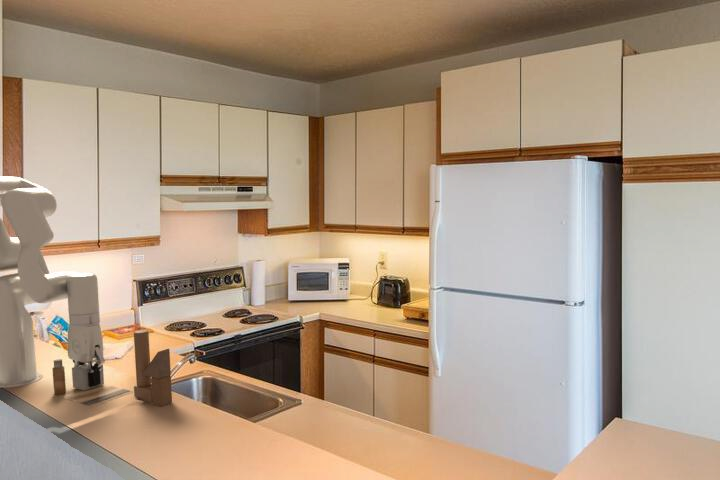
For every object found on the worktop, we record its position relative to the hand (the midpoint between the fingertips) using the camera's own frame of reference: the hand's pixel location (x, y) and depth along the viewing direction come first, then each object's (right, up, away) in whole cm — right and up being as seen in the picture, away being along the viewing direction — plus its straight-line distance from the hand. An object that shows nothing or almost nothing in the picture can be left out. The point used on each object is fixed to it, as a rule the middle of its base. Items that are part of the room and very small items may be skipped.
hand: (88, 383), depth 159 cm
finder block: (0, -1, 0) cm, 1 cm away
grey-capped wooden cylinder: (-6, -2, -4) cm, 7 cm away
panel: (+4, -2, -5) cm, 7 cm away
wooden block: (+21, -3, -9) cm, 23 cm away
